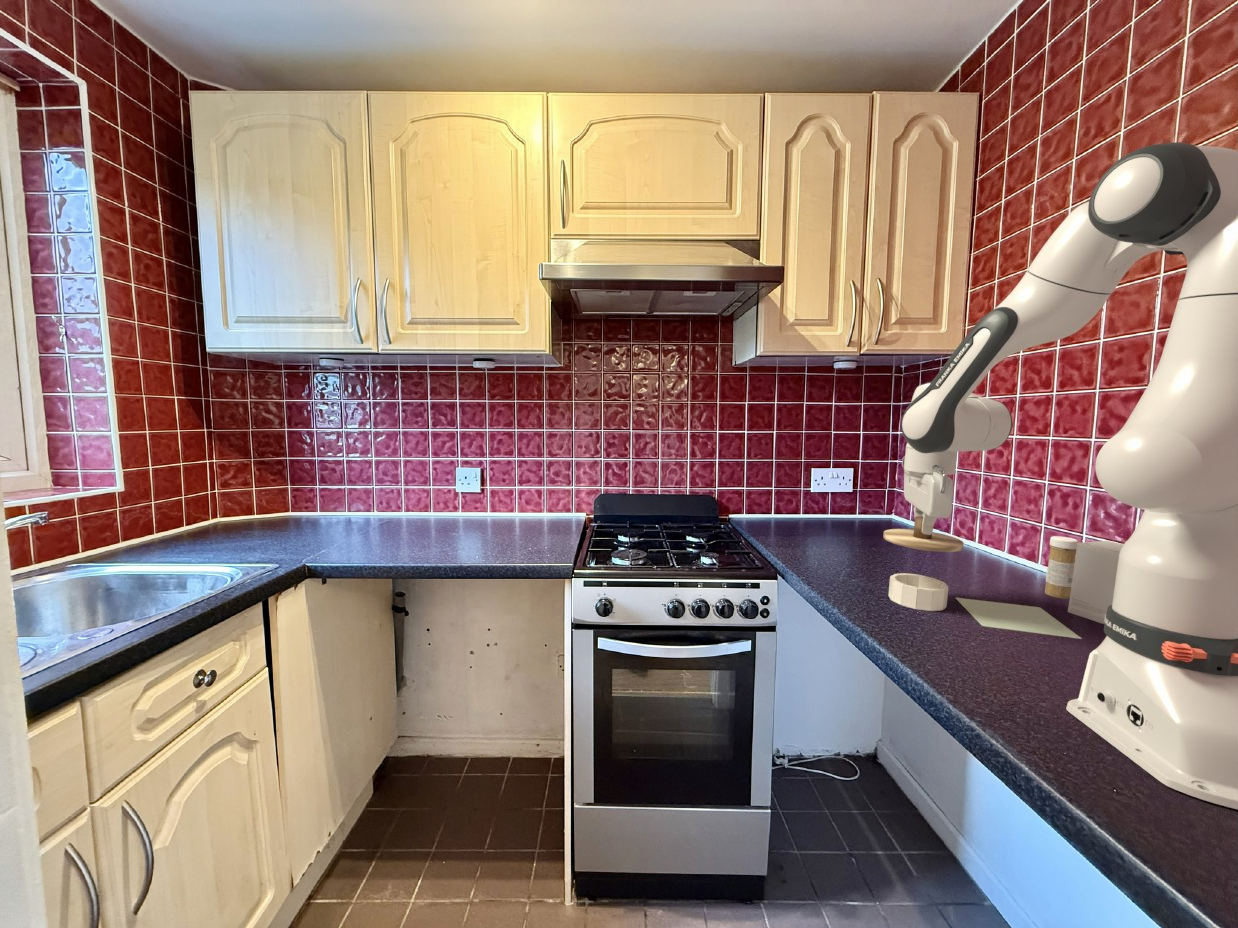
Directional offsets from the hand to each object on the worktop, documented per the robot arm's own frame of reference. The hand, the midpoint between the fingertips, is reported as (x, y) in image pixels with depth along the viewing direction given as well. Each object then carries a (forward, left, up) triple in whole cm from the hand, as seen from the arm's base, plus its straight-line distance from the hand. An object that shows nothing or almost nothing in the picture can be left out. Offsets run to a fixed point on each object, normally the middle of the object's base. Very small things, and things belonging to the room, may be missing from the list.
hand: (922, 531), depth 103 cm
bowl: (0, 0, -16) cm, 16 cm away
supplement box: (+4, -34, -16) cm, 38 cm away
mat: (-2, -16, -16) cm, 22 cm away
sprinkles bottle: (+16, -31, -16) cm, 38 cm away
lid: (0, 0, -2) cm, 2 cm away
